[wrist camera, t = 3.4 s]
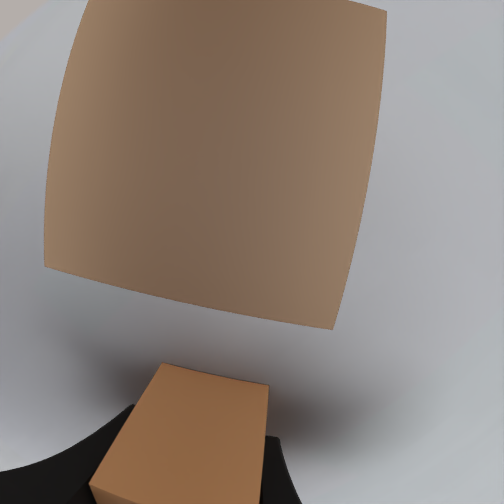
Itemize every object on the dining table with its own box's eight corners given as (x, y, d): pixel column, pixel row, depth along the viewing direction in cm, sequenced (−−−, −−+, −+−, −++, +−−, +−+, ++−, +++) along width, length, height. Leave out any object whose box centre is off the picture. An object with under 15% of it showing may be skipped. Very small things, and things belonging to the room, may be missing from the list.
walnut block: (173, 214, 10) (44, 266, 4) (193, 89, 9) (90, -3, 3) (301, 237, 9) (332, 330, 4) (324, 107, 8) (386, 11, 3)
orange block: (161, 431, 12) (113, 537, 6) (162, 362, 11) (88, 483, 5) (251, 451, 12) (233, 569, 6) (269, 385, 11) (256, 529, 5)
